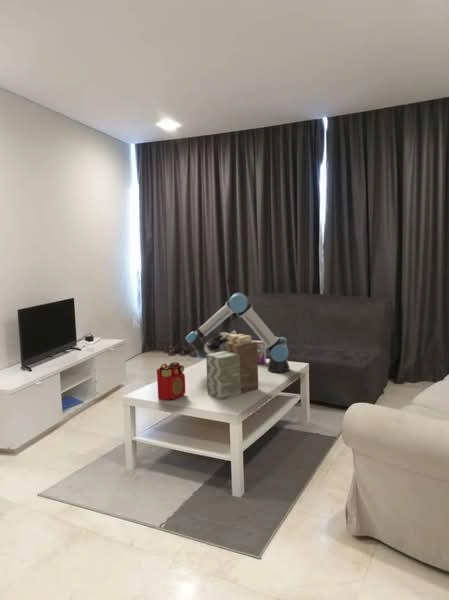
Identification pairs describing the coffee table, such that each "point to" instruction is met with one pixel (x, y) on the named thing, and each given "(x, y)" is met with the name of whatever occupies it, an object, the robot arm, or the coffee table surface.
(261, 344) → the candy bar box
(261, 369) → the coffee table surface
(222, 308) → the robot arm
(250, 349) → the stand
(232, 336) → the light wooden block
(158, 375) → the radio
